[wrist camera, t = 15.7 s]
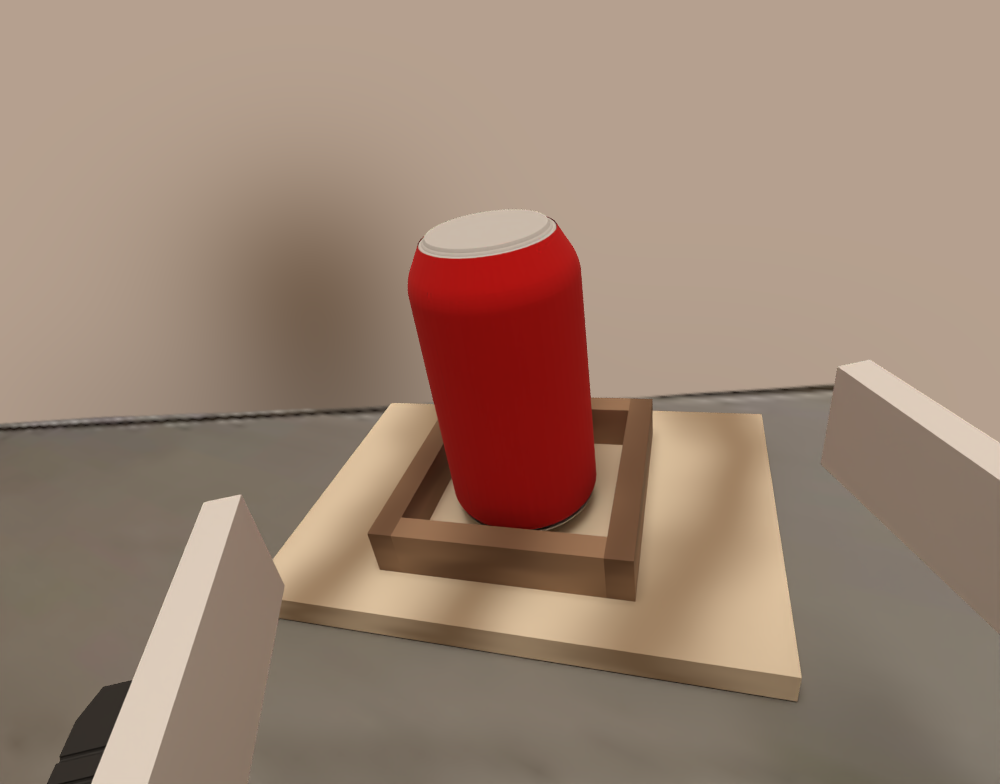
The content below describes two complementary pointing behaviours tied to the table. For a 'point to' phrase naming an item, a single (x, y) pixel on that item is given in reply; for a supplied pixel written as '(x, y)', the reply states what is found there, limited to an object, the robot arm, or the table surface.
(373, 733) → the table surface
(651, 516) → the collar board
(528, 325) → the beverage can
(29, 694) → the table surface
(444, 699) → the table surface
